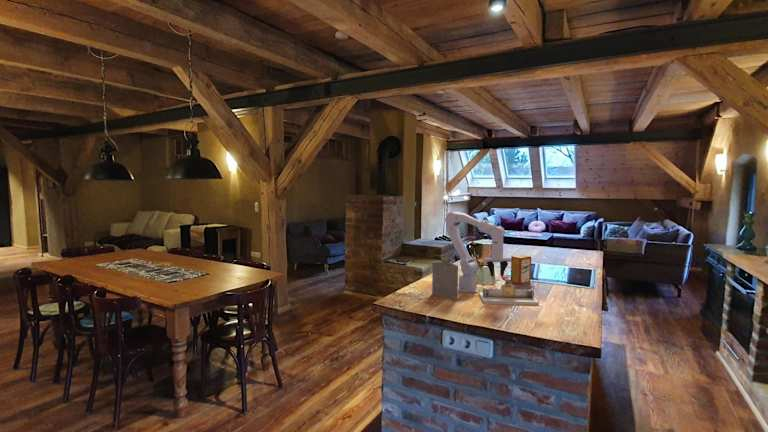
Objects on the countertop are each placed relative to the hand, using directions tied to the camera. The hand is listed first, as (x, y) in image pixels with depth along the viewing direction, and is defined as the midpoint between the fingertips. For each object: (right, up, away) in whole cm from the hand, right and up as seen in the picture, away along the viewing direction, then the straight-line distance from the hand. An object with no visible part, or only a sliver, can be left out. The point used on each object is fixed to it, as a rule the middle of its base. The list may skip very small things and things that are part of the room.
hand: (496, 275), depth 200 cm
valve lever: (+4, -2, -2) cm, 5 cm away
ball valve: (+4, -11, -6) cm, 13 cm away
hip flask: (-27, -11, -2) cm, 29 cm away
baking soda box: (+22, -8, +27) cm, 36 cm away
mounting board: (+4, -11, -6) cm, 13 cm away
